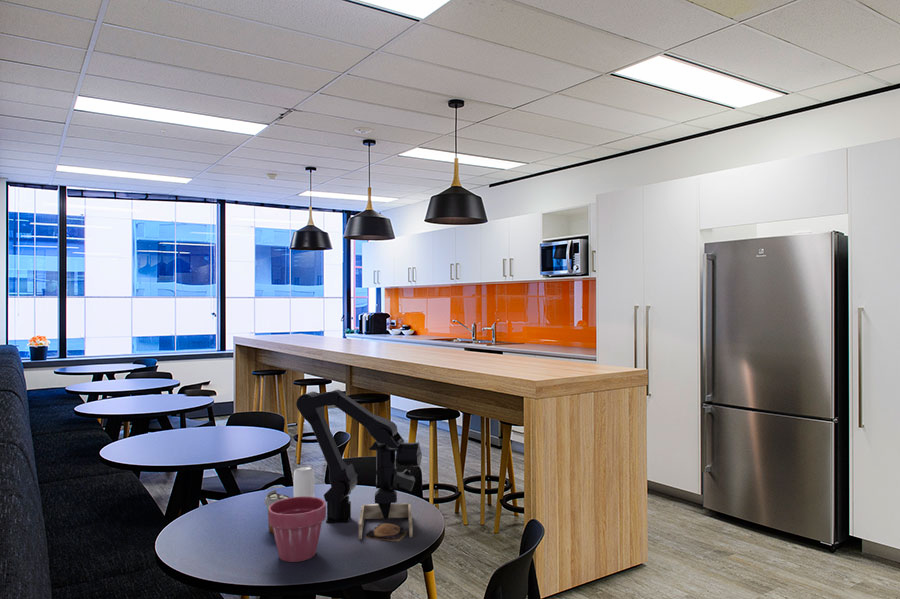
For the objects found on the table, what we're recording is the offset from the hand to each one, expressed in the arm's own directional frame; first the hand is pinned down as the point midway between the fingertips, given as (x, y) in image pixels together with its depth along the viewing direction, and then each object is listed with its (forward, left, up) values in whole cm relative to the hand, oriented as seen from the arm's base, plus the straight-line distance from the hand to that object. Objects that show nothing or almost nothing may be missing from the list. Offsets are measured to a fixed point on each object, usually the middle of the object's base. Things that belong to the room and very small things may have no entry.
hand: (386, 518), depth 180 cm
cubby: (0, -5, -1) cm, 5 cm away
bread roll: (0, -10, -2) cm, 10 cm away
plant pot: (-22, -22, -1) cm, 31 cm away
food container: (-30, -5, -1) cm, 31 cm away
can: (-26, +18, -1) cm, 32 cm away
